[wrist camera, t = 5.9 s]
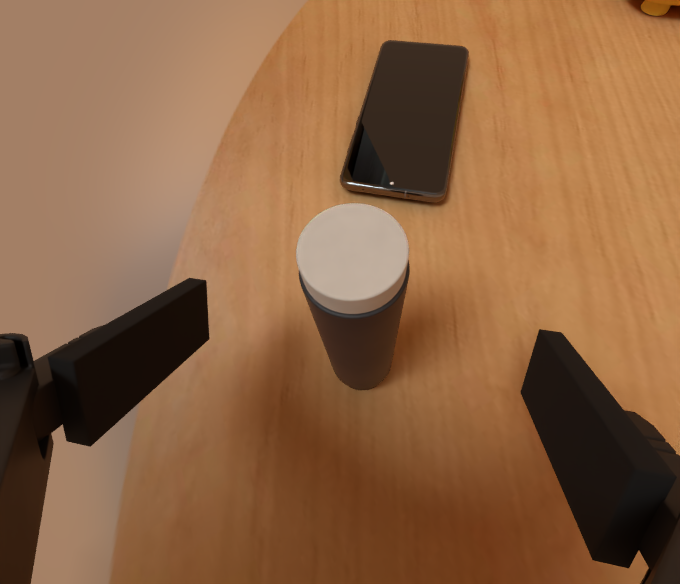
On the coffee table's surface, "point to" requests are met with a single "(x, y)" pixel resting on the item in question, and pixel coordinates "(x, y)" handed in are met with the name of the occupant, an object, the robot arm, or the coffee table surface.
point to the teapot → (658, 6)
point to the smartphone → (408, 122)
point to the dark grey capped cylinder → (355, 287)
